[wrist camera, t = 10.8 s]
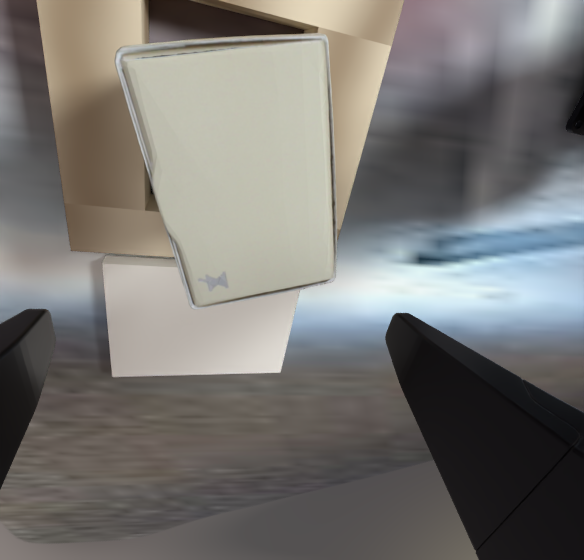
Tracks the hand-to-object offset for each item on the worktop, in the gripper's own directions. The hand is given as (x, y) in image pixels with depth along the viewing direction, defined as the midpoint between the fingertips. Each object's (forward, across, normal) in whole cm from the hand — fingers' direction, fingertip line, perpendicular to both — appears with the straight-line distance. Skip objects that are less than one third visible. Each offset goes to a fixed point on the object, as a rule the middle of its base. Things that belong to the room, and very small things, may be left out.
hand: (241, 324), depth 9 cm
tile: (+13, 0, +10) cm, 16 cm away
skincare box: (+13, 0, -3) cm, 13 cm away
